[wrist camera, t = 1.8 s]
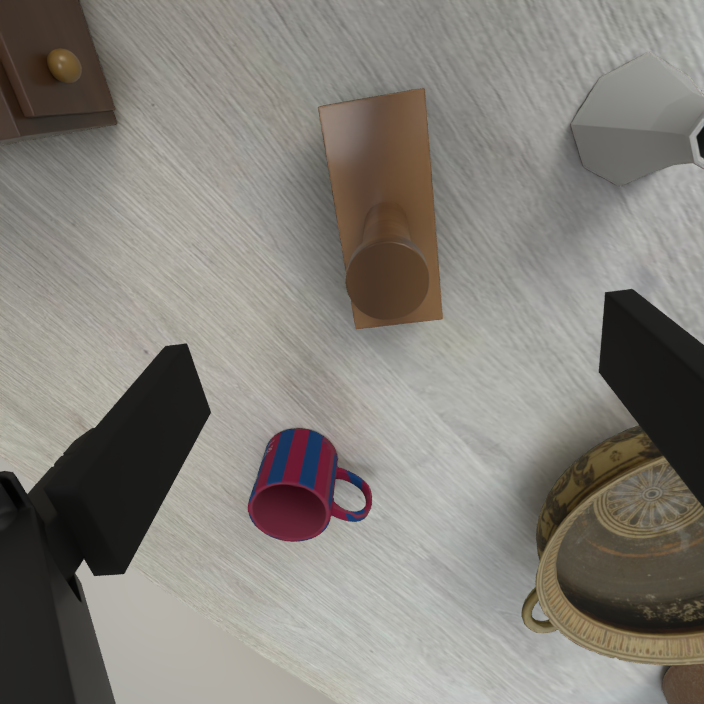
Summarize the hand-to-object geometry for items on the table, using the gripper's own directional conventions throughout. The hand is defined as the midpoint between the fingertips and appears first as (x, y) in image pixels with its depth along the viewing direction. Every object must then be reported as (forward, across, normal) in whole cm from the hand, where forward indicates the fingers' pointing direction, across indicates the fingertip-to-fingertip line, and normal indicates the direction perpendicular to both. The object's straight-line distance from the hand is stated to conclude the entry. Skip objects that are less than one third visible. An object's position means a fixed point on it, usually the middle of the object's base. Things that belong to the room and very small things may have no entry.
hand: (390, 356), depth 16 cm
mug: (+22, -9, -22) cm, 32 cm away
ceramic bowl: (+22, +20, -27) cm, 40 cm away
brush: (+21, 0, 0) cm, 21 cm away
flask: (+22, +16, +3) cm, 27 cm away
